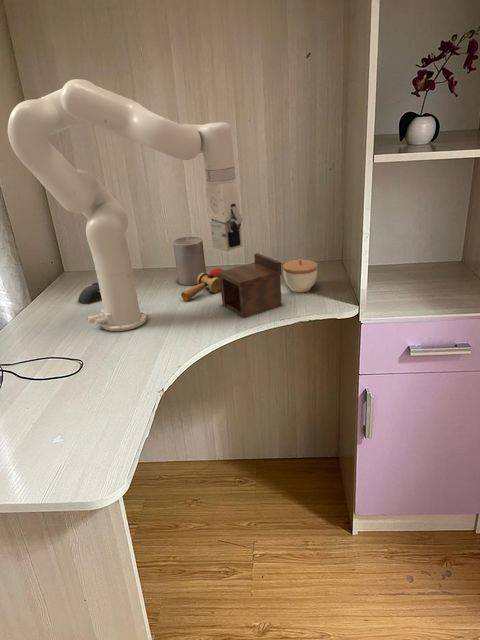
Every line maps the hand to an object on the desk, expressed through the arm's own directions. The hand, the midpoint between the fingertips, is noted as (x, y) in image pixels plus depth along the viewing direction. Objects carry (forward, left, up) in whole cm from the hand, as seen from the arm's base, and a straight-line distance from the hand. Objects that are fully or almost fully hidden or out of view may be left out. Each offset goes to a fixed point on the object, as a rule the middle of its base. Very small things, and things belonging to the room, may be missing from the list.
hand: (227, 242), depth 143 cm
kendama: (+1, +19, -20) cm, 28 cm away
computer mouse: (-26, +43, -20) cm, 54 cm away
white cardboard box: (0, 0, -1) cm, 1 cm away
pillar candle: (+3, +32, -20) cm, 38 cm away
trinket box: (+25, +1, -20) cm, 32 cm away
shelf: (+6, 0, -20) cm, 21 cm away
